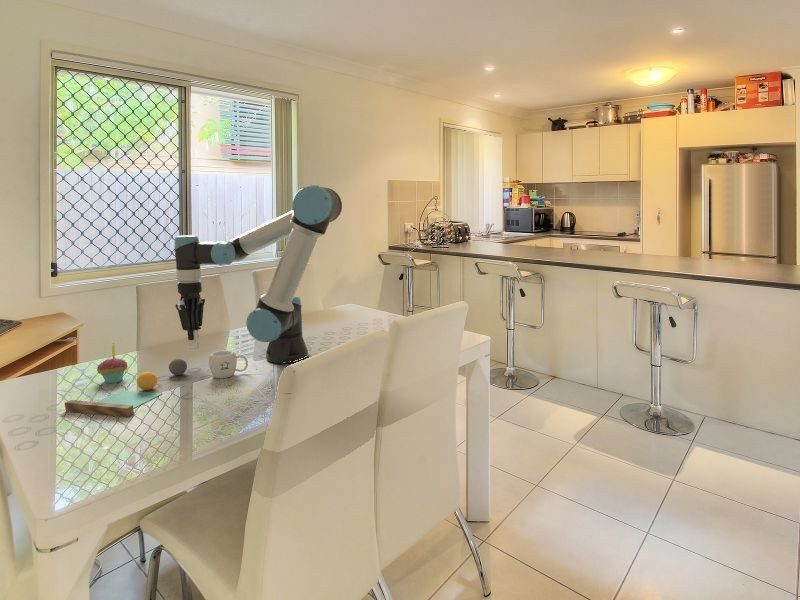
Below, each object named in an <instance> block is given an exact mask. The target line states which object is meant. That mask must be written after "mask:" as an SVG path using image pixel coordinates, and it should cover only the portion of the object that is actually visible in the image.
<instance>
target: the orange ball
mask: <svg viewBox="0 0 800 600" xmlns="http://www.w3.org/2000/svg"><path fill="white" fill-rule="evenodd" d="M136 383H137V386H138V387H139V389H141V390H143V391H150V390H152V389H154V388H155V387H156V386H157V384H158V377H157V375H156V374H155V373H153V372H151V371H145V372H144V371H143V372H141V373H140V374H139V376H138V377H137V379H136Z"/></svg>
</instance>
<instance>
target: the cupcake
mask: <svg viewBox="0 0 800 600" xmlns="http://www.w3.org/2000/svg"><path fill="white" fill-rule="evenodd" d="M115 348H116V347H115V344H114V342H113V343H112V345H111V350H112V354H111V355H112V356H111V357H112V358H110V359H106V360H103V361H102V362H100V363H99V364H98V365H97V367H96V371H97V374H100V375H101V377H102V378H103V379H104V381H105V383H108V384H113V383H117V382H118V383H119V382H121V381H123V378H124V374H125V372H126V370H128V362H127V361H125V360H124V359H121V358H118V357H117V358H116V350H115Z"/></svg>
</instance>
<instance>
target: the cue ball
mask: <svg viewBox="0 0 800 600" xmlns="http://www.w3.org/2000/svg"><path fill="white" fill-rule="evenodd" d="M187 369H188V363H187V362H186V361H185V360H184V359H183V358H174V359H173V360H171V361H170V363H169V364H168V371H169V372H170V373H171V374H172V375H174V376H182V375H183V374H184V373H185V372H186V371H187Z"/></svg>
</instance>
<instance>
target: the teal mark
mask: <svg viewBox="0 0 800 600" xmlns="http://www.w3.org/2000/svg"><path fill="white" fill-rule="evenodd" d="M162 395H163V393H160V392H150V391H149V392H147V391H138V390H137V391H135V390H124V389H122V390H120V391H118V392H115V393H112V394H111V395H108V396H106V397H104V398H102V399H100V400H97V401H96V402H100V403H111V404H122V405H133V410H134V409H136V408H138V407H140V406H142V405H144V404H146V403H147V402H149V401H152V400H153V399H155V398H158V397H160V396H162Z"/></svg>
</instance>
